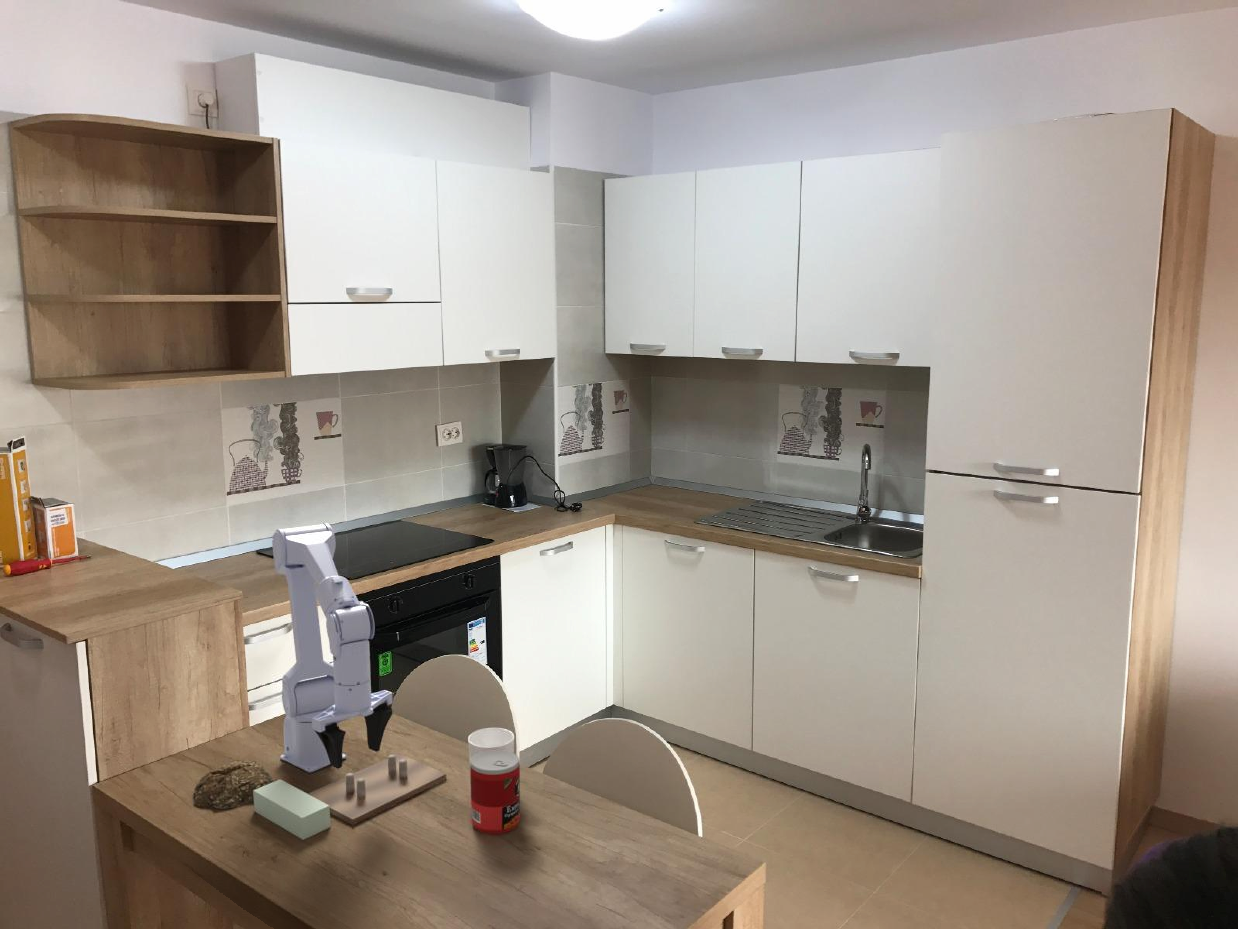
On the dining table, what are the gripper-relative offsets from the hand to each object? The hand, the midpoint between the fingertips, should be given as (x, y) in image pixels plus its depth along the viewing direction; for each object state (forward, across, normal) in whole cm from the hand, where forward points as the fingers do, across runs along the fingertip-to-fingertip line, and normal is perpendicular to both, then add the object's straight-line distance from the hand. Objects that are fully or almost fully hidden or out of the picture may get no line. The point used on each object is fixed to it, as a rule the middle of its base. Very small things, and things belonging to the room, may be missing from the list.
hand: (355, 758), depth 162 cm
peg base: (+10, +7, +4) cm, 13 cm away
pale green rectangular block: (+10, -8, +7) cm, 14 cm away
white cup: (+10, +19, -12) cm, 25 cm away
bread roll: (+10, -9, +23) cm, 26 cm away
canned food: (+10, +12, -20) cm, 25 cm away
